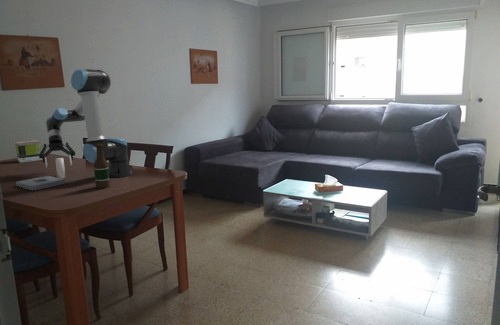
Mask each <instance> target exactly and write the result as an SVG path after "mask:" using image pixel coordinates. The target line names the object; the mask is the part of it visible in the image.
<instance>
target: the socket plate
mask: <svg viewBox="0 0 500 325" xmlns="http://www.w3.org/2000/svg"><path fill="white" fill-rule="evenodd" d="M15 183H16V185H15V186H16V187H18V186H19V188H21V187H22V189H25V190H28V189H29V191H31V190H32V191H33V190H34V191H37V190H38V191H39V190H43V189H46V188H52V187H55V186H61V185H65V184H66V183H65V178H62V179H60V178H57V176H56V177H55V176H51V175H45V176H39V177H33V178H29V179H23V180H19V181H15Z"/></svg>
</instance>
